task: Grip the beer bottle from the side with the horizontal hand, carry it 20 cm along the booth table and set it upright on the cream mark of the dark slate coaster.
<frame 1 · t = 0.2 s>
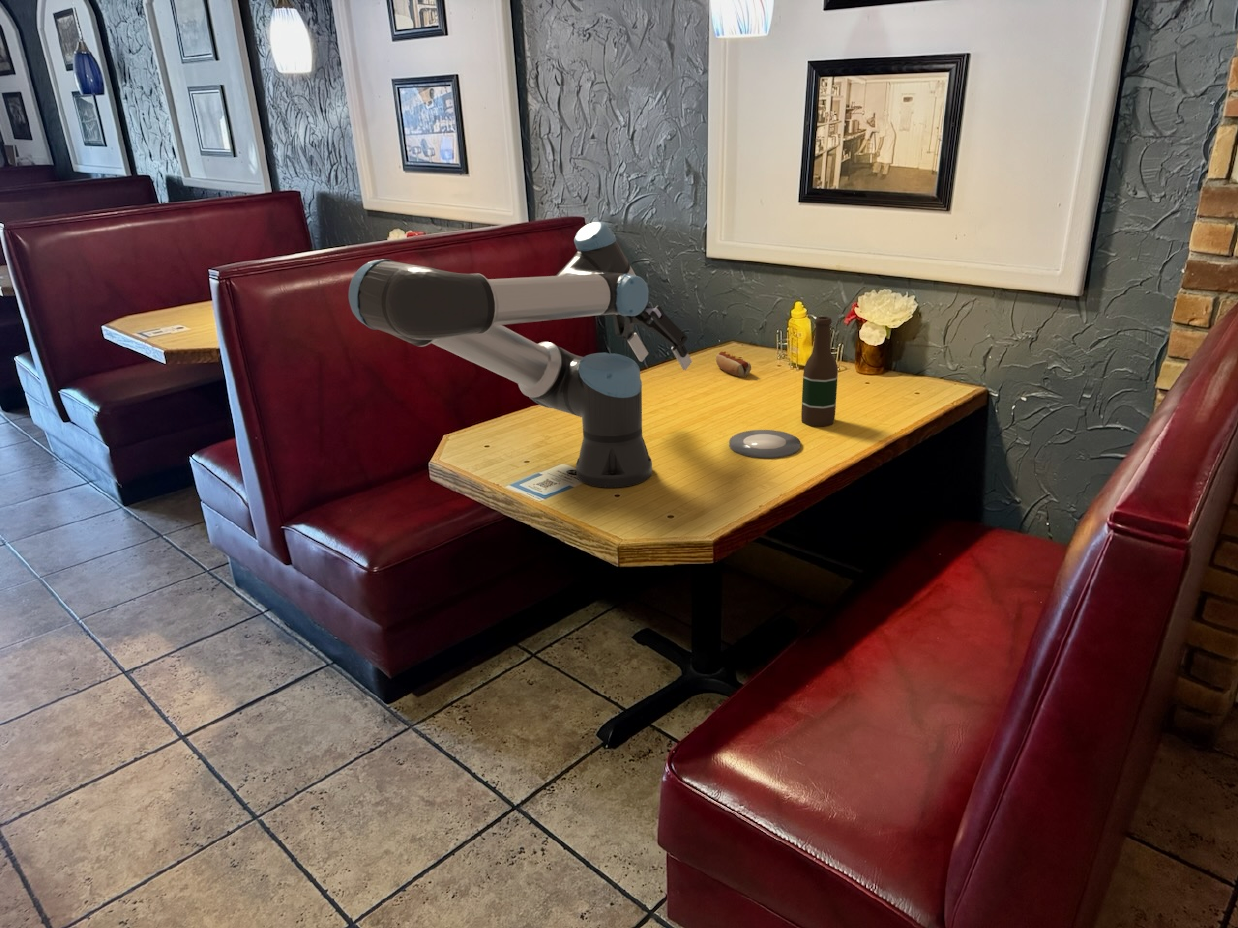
hand: (665, 361, 190), 15 cm above the table, tool tilted 35°, fingers open, 13 cm apart
food: (732, 373, 233), on the table
beer bottle: (817, 422, 193), on the table
slate coaster: (764, 445, 180), on the table
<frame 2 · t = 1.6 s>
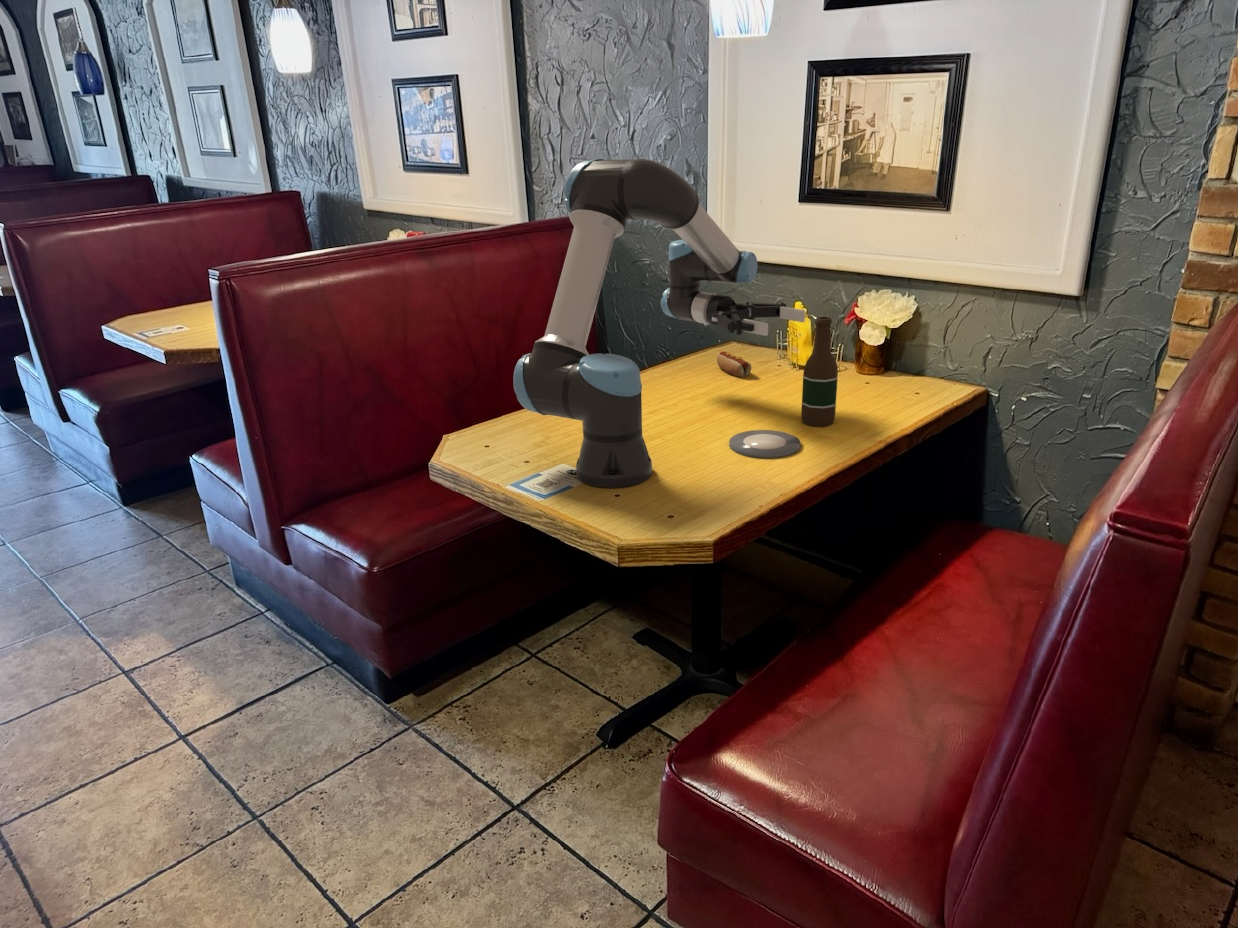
hand: (786, 322, 190), 22 cm above the table, tool horizontal, fingers open, 13 cm apart
nothing on the table moved.
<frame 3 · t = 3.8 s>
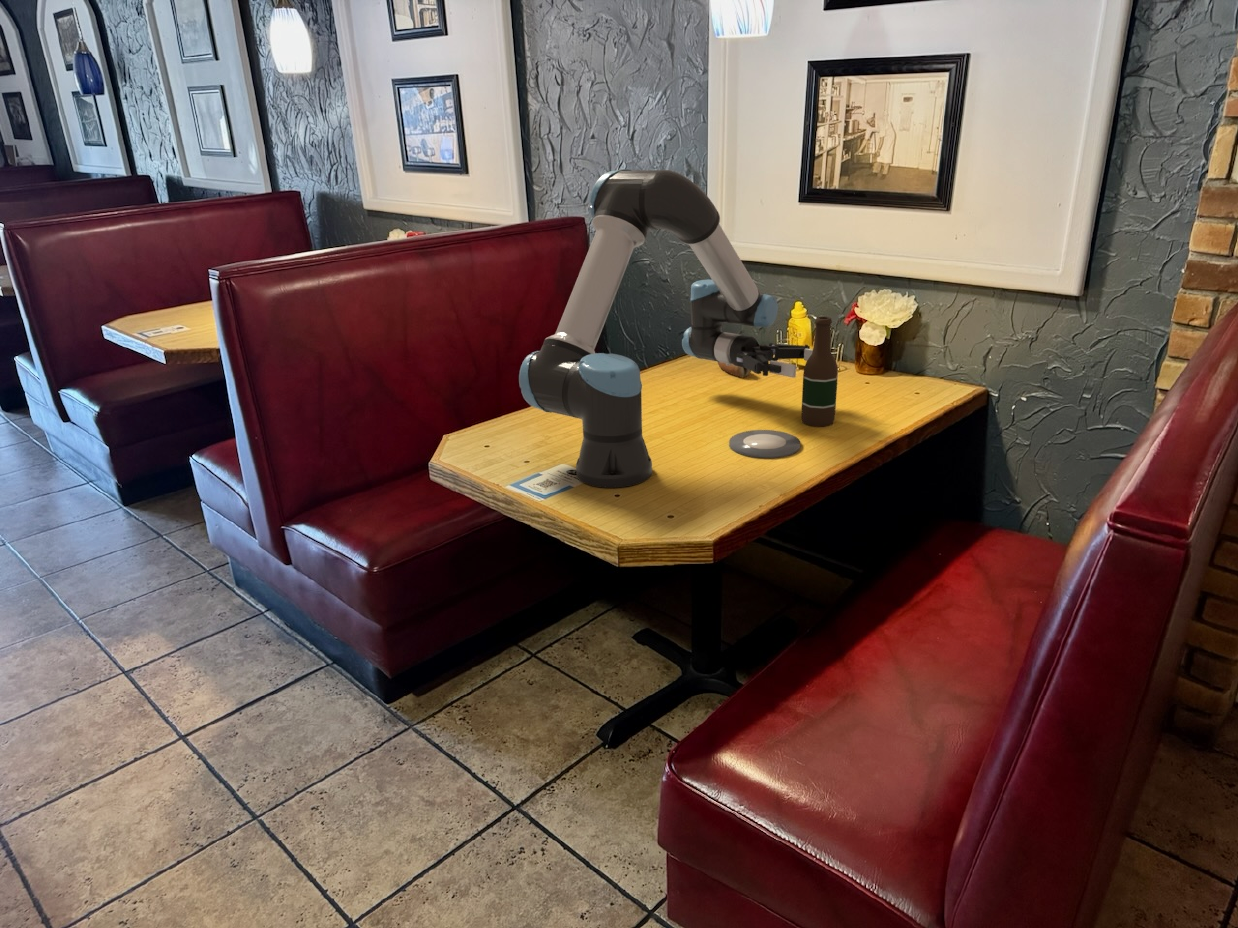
hand: (812, 365, 190), 13 cm above the table, tool horizontal, fingers open, 13 cm apart
nothing on the table moved.
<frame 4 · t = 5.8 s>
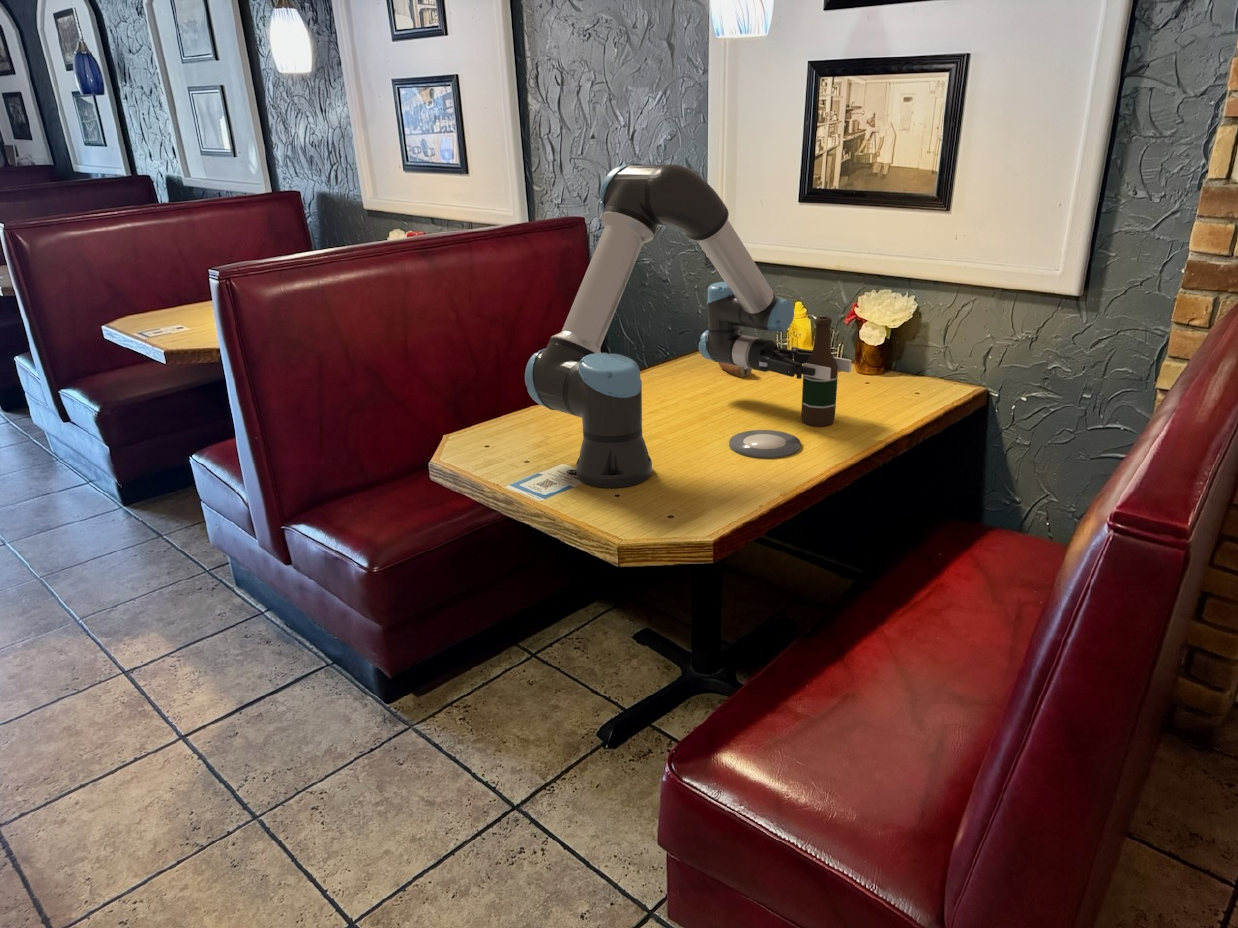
hand: (839, 370, 185), 13 cm above the table, tool horizontal, fingers closed on beer bottle, 7 cm apart
beer bottle: (817, 422, 193), on the table, touching gripper
everything else where it was.
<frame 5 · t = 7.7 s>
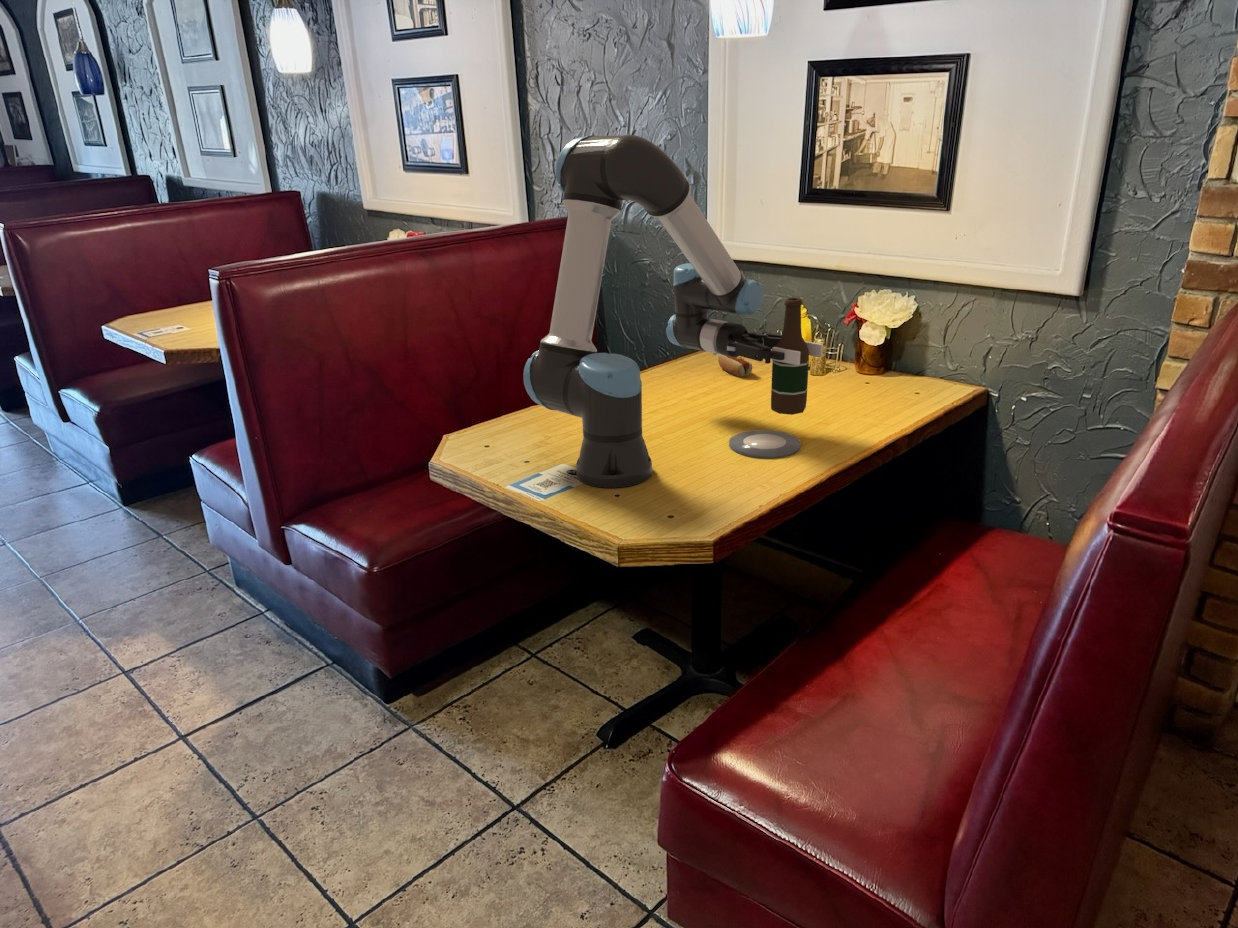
hand: (810, 354, 175), 19 cm above the table, tool horizontal, fingers closed on beer bottle, 7 cm apart
beer bottle: (788, 410, 183), point 6 cm above the table, touching gripper
everything else where it was.
when the fingers open (15 cm above the table, at t = 9.7 s): beer bottle stays where it is, resting on slate coaster.
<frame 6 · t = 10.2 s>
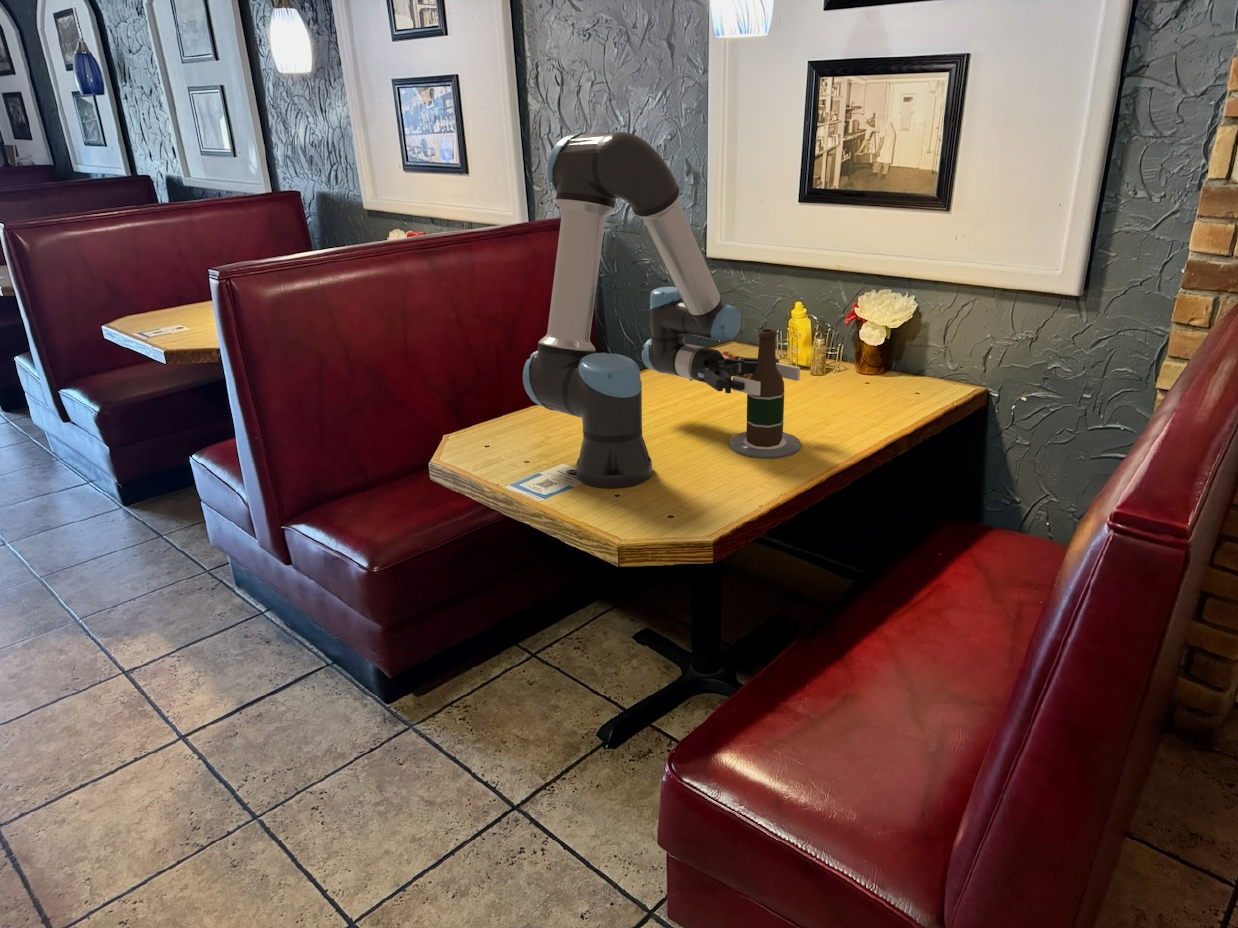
hand: (779, 381, 172), 15 cm above the table, tool horizontal, fingers open, 13 cm apart
beer bottle: (764, 442, 180), point 1 cm above the table, touching slate coaster
everything else where it was.
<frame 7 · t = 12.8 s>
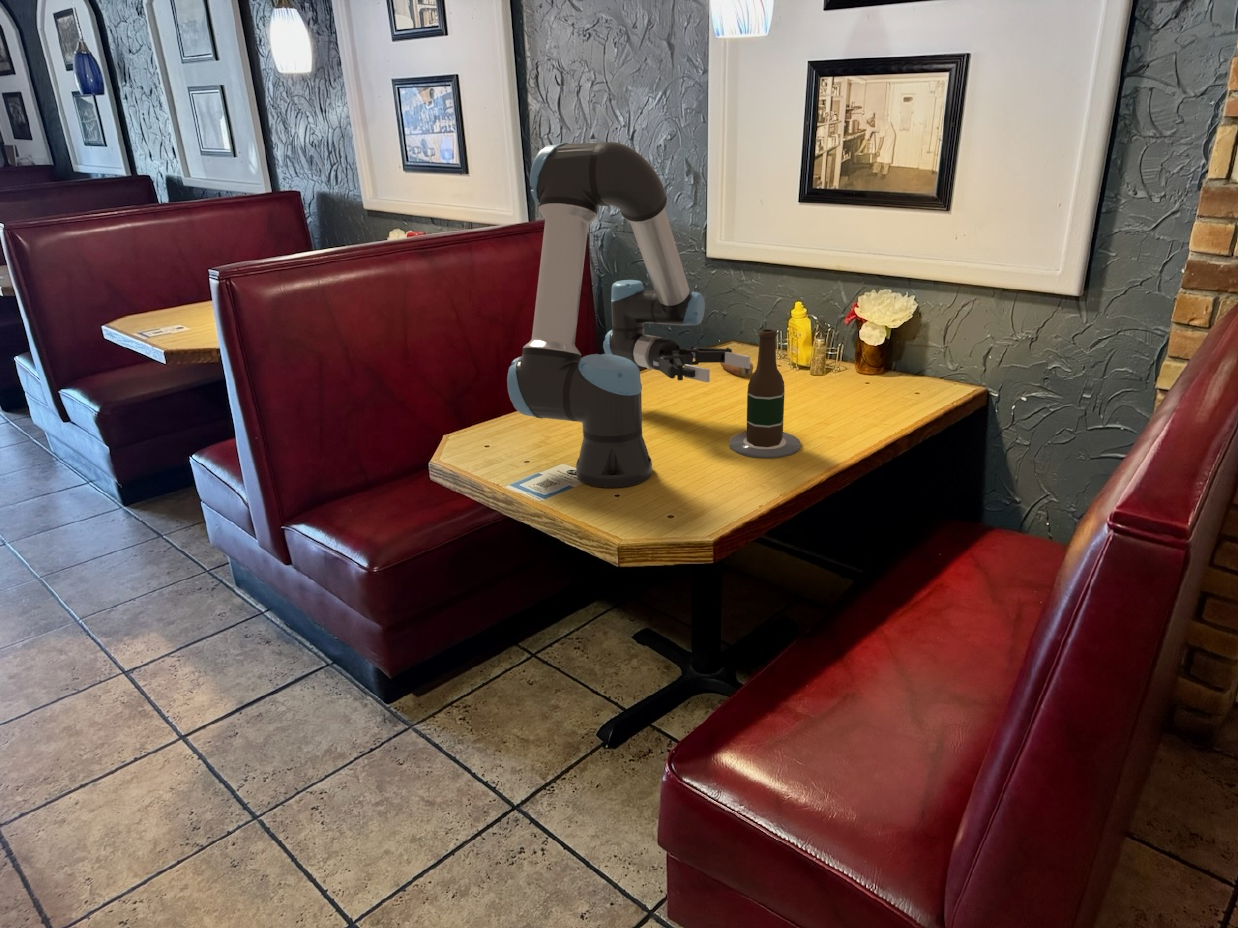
hand: (729, 369, 181), 15 cm above the table, tool horizontal, fingers open, 13 cm apart
nothing on the table moved.
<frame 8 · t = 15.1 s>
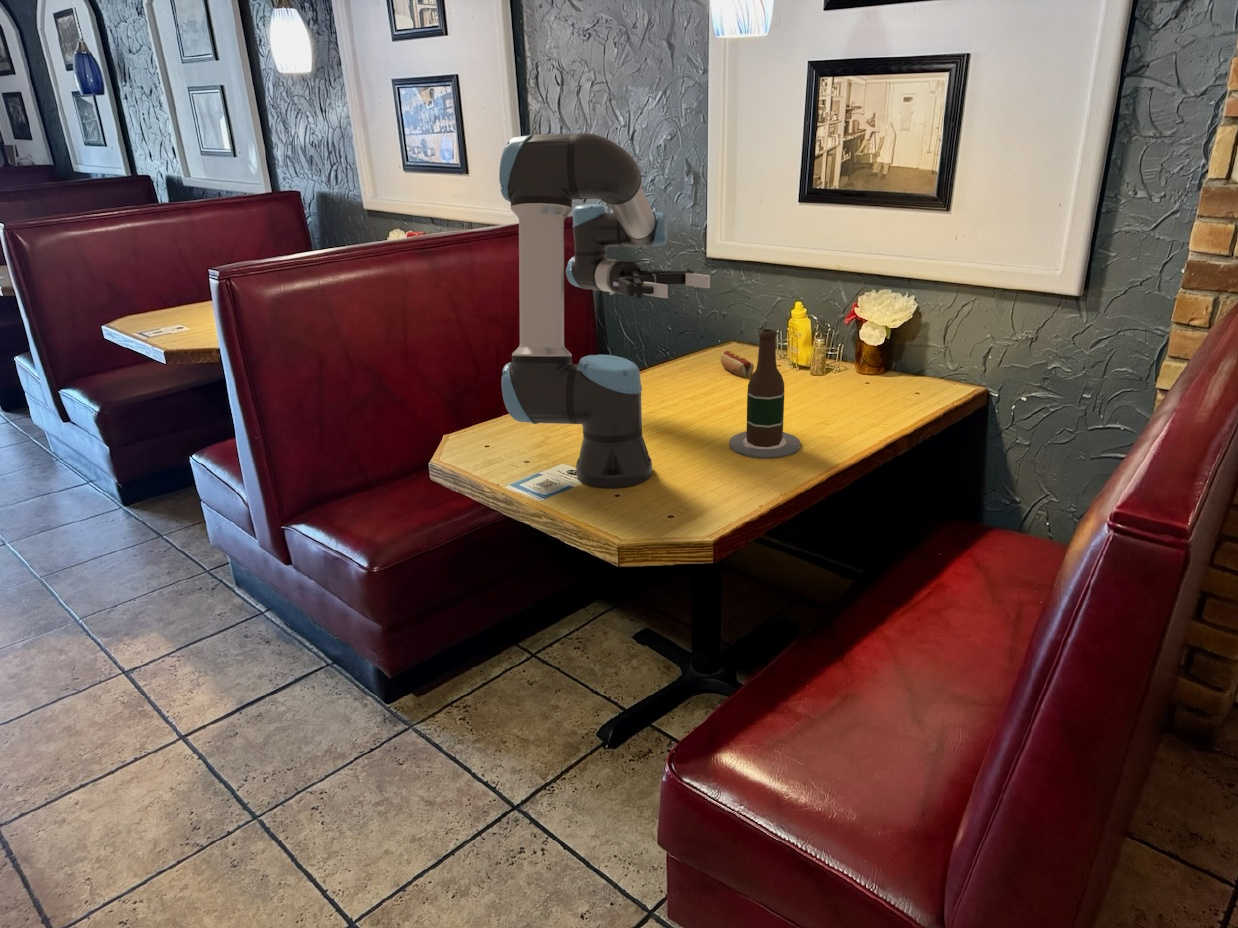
hand: (688, 286, 180), 32 cm above the table, tool horizontal, fingers open, 13 cm apart
at the end: beer bottle 0.0 cm from the slate coaster (horizontally); beer bottle tilted 0°; the gripper is holding nothing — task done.
